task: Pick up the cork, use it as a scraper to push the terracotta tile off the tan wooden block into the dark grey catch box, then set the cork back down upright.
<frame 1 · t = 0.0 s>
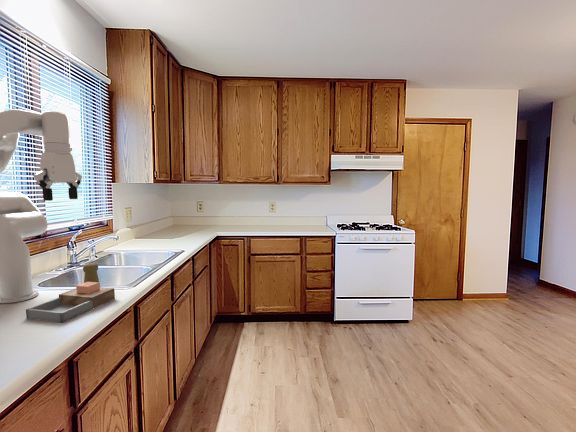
hand: (61, 199, 115), 37 cm above the table, tool pointing down, fingers open, 9 cm apart
tile: (88, 290, 119), point 4 cm above the table, touching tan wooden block
catch box: (60, 313, 109), on the table
cork: (92, 291, 132), on the table
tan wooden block: (88, 302, 119), on the table
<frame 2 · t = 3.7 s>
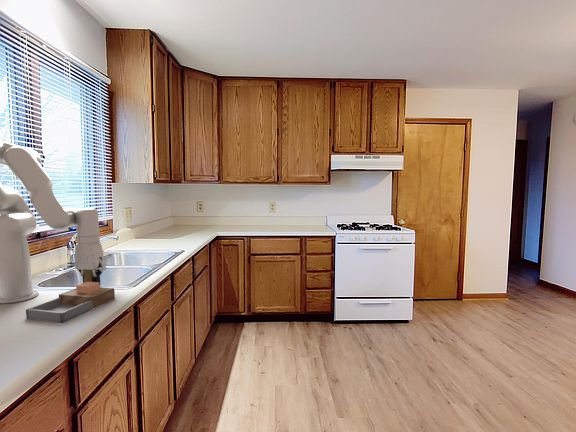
hand: (91, 285, 132), 2 cm above the table, tool pointing down, fingers closed on cork, 3 cm apart
cork: (92, 291, 132), on the table, touching gripper
everything else where it was.
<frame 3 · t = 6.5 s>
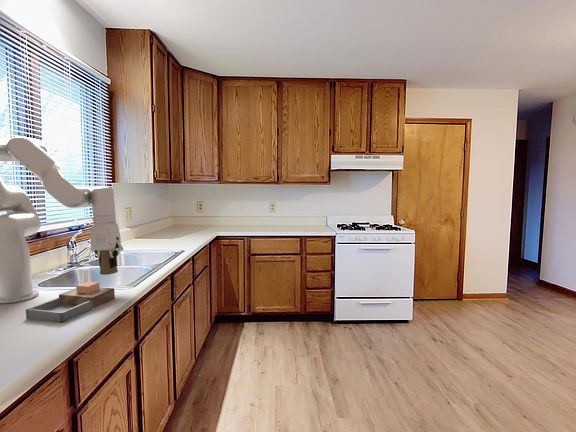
hand: (108, 266, 128), 10 cm above the table, tool pointing down, fingers closed on cork, 3 cm apart
cork: (109, 273, 128), point 8 cm above the table, touching gripper
everything else where it was.
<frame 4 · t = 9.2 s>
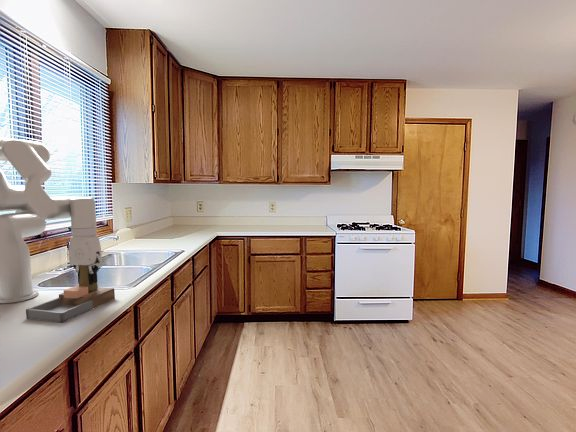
hand: (87, 282, 119), 7 cm above the table, tool pointing down, fingers closed on cork, 3 cm apart
tile: (76, 295, 114), point 4 cm above the table, touching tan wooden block
cork: (88, 289, 120), point 4 cm above the table, touching gripper
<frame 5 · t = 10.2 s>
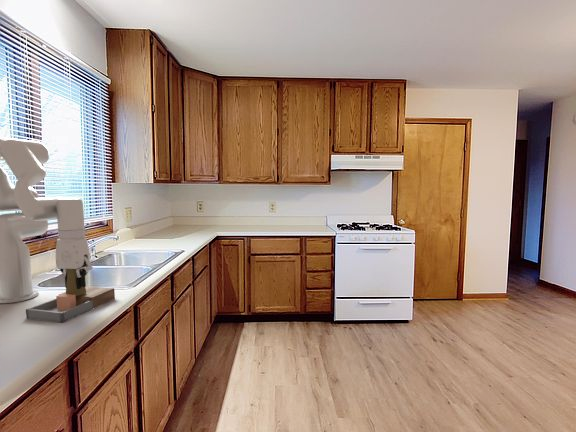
hand: (75, 286, 114), 7 cm above the table, tool pointing down, fingers closed on cork, 3 cm apart
tile: (69, 301, 111), point 3 cm above the table, tilted 90°, touching catch box
cork: (76, 294, 115), point 4 cm above the table, touching gripper
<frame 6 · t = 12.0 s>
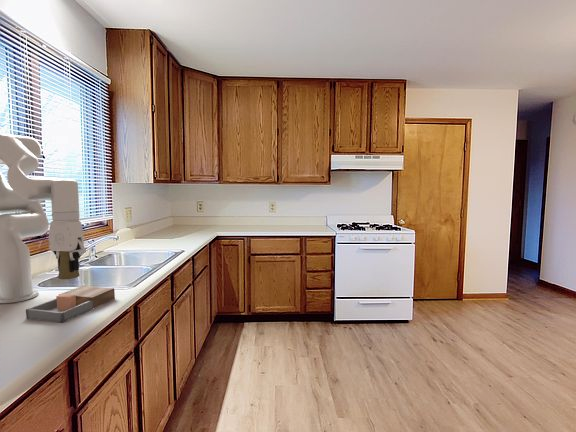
hand: (68, 270, 112), 13 cm above the table, tool pointing down, fingers closed on cork, 3 cm apart
cork: (69, 277, 113), point 11 cm above the table, touching gripper
everything else where it was.
when the fingers open (3 cm above the table, at t = 16.5 s): cork drops 1 cm, on the table.
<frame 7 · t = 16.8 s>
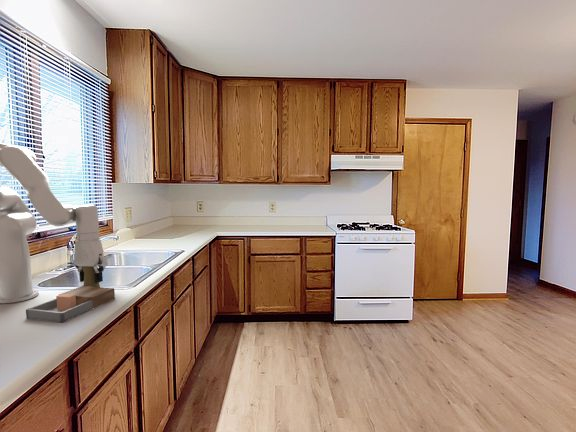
hand: (91, 281, 132), 4 cm above the table, tool pointing down, fingers open, 6 cm apart
cork: (91, 291, 132), on the table
everything else where it was.
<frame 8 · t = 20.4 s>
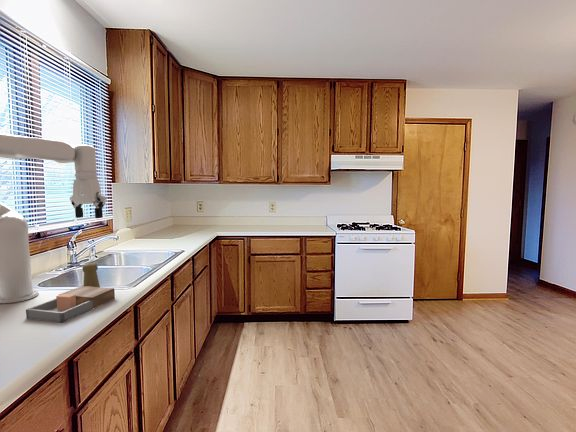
hand: (89, 217, 137), 28 cm above the table, tool pointing down, fingers open, 9 cm apart
nothing on the table moved.
at the end: tile inside the target area on the catch box (2.9 cm from its centre), point 3.0 cm above the catch box's base; cork tilted 0°; cork inside the target area (0.2 cm from its centre), on the table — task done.
